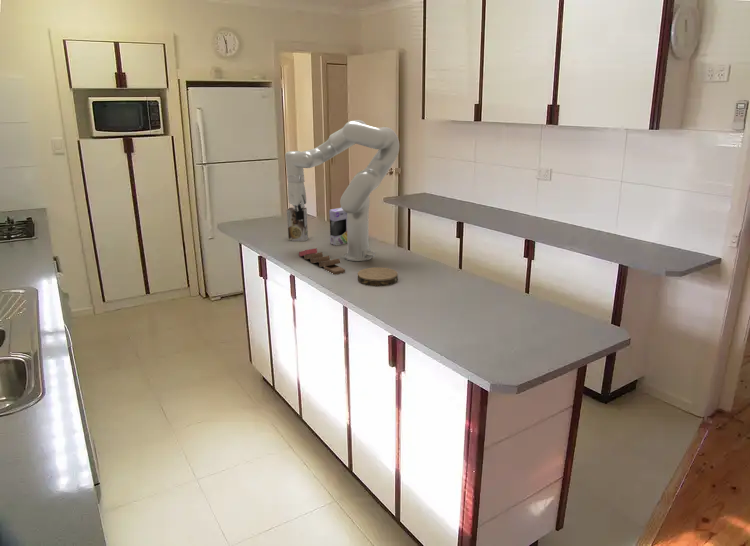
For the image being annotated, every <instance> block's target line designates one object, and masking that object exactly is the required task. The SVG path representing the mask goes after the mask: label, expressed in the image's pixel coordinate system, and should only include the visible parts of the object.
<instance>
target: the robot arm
mask: <svg viewBox="0 0 750 546" xmlns="http://www.w3.org/2000/svg"><path fill="white" fill-rule="evenodd" d="M354 145H359V146H363V147H366V148H370V149H373V150H378V151H377V152H376V153H375V154H374V155H373V157H372V158H371V160H370V162H369V164H368V165H367V166H366V167H365V168H364V169H363V170H360V171H359V172H357V173H356V174H355V175H354V177H353V178H352V179H351V181H350V182H349V184H348V186H347V187H346V189H345V190H344V191H343V193H342V195H341V196H340V200H339V204H340V208H342V209H343V210H344V211H345V212H346V213H347V243H346V244H347V253H345V254H344V255H343V256H344V257H343V258H344V259H345V260H347V261H350V262H366V261H369V260H371V259H372V258H375V257H376V252H375V251H372V250H371V247H369V246H370V245H369V213H370V212H369V211H370V205H371V204H370V202H371V200H370V195H371V194H372V192H373V191H375V190H376V189H377V188H378V187H379V186H380V185H381V184H382V182H383V180H384V179H385V177H386V175H387V174H388V172H389V171H390V169H391V168H392V166H393V165H394V163H395V162H396V160H397V158H398V155H399V152H400V141H399V137H398V135H397V133H396V131H395V130H394V129H393V128H391V127H387V126H382V127H375V126H372V125H368V124H367V123H366V122H365V121H363V120H361V119H355V120H349V121H347V122H346V123H345V124H344V125H343V127H341V128H340V129H339V130H336V131H334V132H333V133H331V134H330V135H329V137H328V139H327V140H326V141H325V142H323V143H321V144H320V145H318V146H316V147H315V148H312V149H308V150H303V151H299V150H292V151H291V150H290V151H287V152H285V155H284V158H285V168H286V176H287V177H286V178H287V195H288V197H287V198H288V200H287V201H288V203H289V205H292V206H293V208H294V209H295V216H296V220H302V219H304V217H303V208H306V207H305V205H306V204H307V194H306V187H305V181H306V180H305V172H304V169H311V168H315V167H317V166H321V165H322V164H324V163H325V162H327V161H329V160H331V159H332V158H334V157H335V156H337V155H339V154H341V153H343V152H344V151H346V150H347V149H349V148H350V147H352V146H354Z"/></svg>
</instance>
